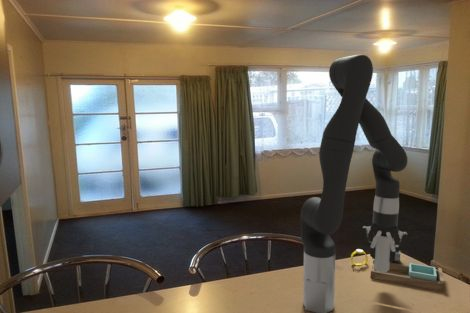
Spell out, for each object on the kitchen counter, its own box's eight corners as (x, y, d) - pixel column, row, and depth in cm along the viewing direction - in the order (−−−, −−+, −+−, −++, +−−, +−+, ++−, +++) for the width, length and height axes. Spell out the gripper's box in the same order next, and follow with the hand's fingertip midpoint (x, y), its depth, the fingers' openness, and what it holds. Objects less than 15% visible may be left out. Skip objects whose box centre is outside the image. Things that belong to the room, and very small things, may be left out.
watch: (365, 264, 135) (367, 249, 134) (367, 267, 132) (369, 252, 131) (349, 262, 135) (351, 248, 134) (351, 266, 133) (353, 251, 132)
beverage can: (386, 266, 118) (389, 232, 117) (391, 273, 114) (394, 237, 112) (371, 265, 119) (374, 231, 117) (376, 272, 114) (378, 236, 112)
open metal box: (399, 270, 129) (400, 253, 128) (376, 266, 132) (376, 250, 131) (399, 261, 136) (400, 245, 135) (377, 258, 139) (378, 242, 138)
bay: (443, 292, 113) (444, 281, 113) (370, 279, 123) (370, 268, 122) (440, 278, 122) (441, 268, 121) (372, 267, 132) (373, 257, 131)
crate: (435, 287, 115) (436, 276, 115) (408, 282, 119) (409, 271, 118) (434, 278, 121) (435, 267, 121) (408, 273, 125) (409, 263, 124)
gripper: (361, 209, 113) (357, 259, 115) (410, 216, 107) (406, 268, 109) (363, 204, 120) (360, 251, 122) (410, 209, 114) (406, 259, 116)
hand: (382, 259), depth 116 cm, fingers closed on beverage can, 4 cm apart
